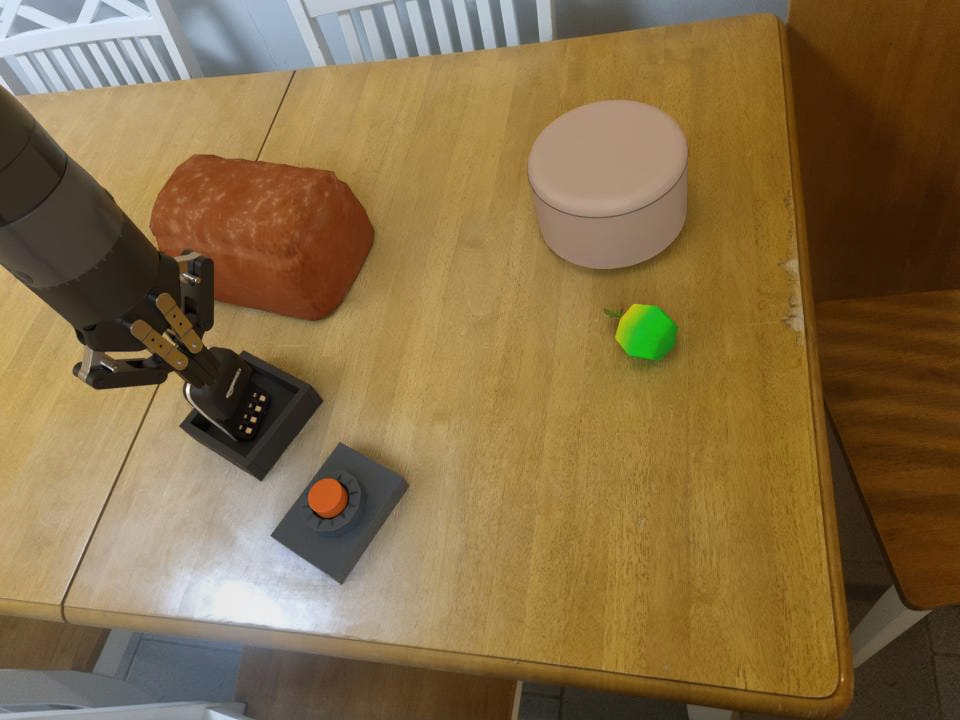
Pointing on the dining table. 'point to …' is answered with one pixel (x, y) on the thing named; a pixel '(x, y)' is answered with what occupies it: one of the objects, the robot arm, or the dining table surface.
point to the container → (610, 183)
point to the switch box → (342, 513)
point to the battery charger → (231, 398)
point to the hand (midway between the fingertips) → (208, 378)
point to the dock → (278, 427)
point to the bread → (266, 232)
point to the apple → (645, 331)
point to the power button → (327, 498)
